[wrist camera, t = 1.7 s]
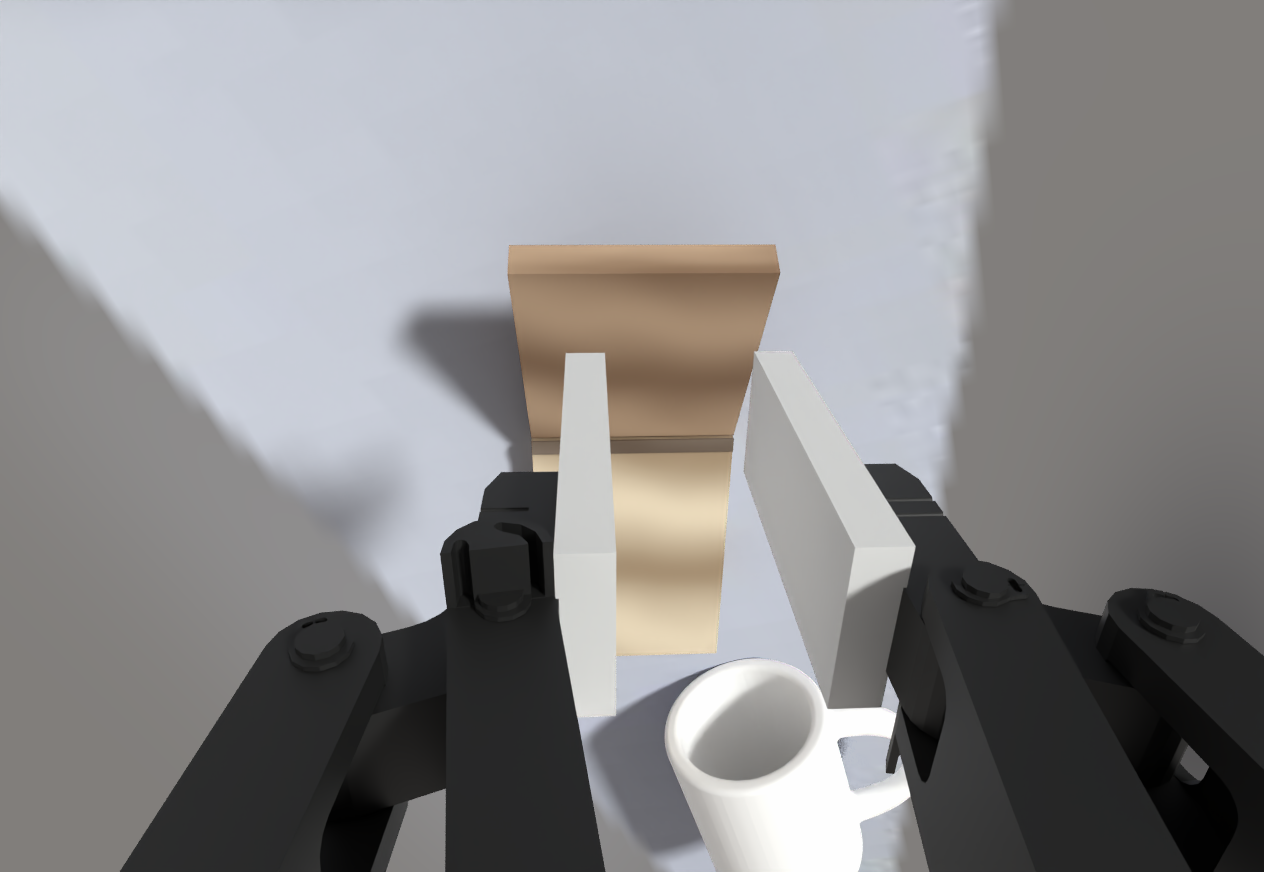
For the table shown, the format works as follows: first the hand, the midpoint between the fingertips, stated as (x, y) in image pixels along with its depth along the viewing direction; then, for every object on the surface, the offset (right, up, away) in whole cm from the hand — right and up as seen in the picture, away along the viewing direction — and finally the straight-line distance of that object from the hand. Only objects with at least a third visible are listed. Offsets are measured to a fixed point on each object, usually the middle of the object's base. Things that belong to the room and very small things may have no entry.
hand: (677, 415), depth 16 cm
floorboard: (-1, -5, +21) cm, 22 cm away
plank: (-1, +3, +14) cm, 14 cm away
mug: (+8, -16, +28) cm, 33 cm away
